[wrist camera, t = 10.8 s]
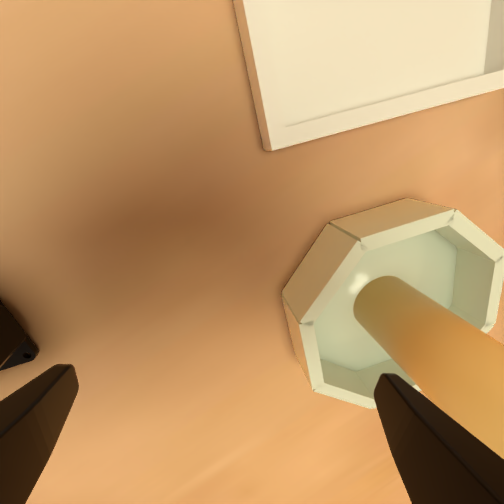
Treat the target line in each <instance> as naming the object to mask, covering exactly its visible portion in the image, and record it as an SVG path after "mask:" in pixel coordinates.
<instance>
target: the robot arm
mask: <svg viewBox="0 0 504 504" xmlns="http://www.w3.org/2000/svg"><path fill="white" fill-rule="evenodd" d="M28 353H30V354H28ZM38 353H39V351H38V349H37V347H36V346H35V345H34V344H33V342H32V341H31V340H30V338H29V337H28V336H27V334H26V333H25V332H24V330H23V329H22V328H21V327H20V325H19V324H18V323H17V321H16V320H15V319H14V317H13V316H12V315H11V313H10V312H9V311H8V310H7V308H6V307H5V306H4V304H3V303H2V302H1V300H0V371H1V370H4V369H7V368H10V367H13V366H17V365H20V364H23V363H26V362H29V361H32V360H34V359H35V357H36V356H37V355H38ZM78 388H79V384H78V380H77V376H76V372H75V368H74V366H73V365H71V364H57V365H54V366H53V367H51V368H50V369H48V370H47V371H45V372H44V373H42V374H41V375H39V376H38V377H36V378H35V379H33V380H32V381H30V382H29V383H27V384H26V385H24V386H23V387H21V388H20V389H18V390H17V391H15V392H14V393H12V394H11V395H9V396H8V397H6V398H5V399H3V400H2V401H0V504H25V503H26V501H27V499H28V497H29V496H30V494H31V492H32V490H33V488H34V486H35V484H36V482H37V481H38V479H39V477H40V475H41V473H42V471H43V469H44V467H45V466H46V464H47V462H48V460H49V458H50V456H51V454H52V451H53V449H54V447H55V445H56V442H57V440H58V438H59V435H60V433H61V431H62V428H63V426H64V424H65V421H66V419H67V417H68V414H69V412H70V409H71V407H72V405H73V402H74V400H75V398H76V395H77V393H78ZM374 400H375V403H376V407H377V410H378V413H379V416H380V419H381V422H382V425H383V429H384V432H385V435H386V438H387V441H388V444H389V447H390V450H391V453H392V456H393V458H394V461H395V464H396V466H397V468H398V471H399V473H400V476H401V478H402V480H403V483H404V485H405V488H406V490H407V493H408V495H409V497H410V500H411V502H412V504H504V459H503V458H501V457H500V456H499V455H498V454H496V453H495V452H494V451H493V450H491V449H490V448H489V447H488V446H486V445H485V444H484V443H483V442H481V441H480V440H479V439H478V438H476V437H475V436H474V435H473V434H471V433H470V432H469V431H468V430H466V429H465V428H464V427H463V426H461V425H460V424H459V423H458V422H456V421H455V420H454V419H453V418H451V417H450V416H449V415H447V414H446V413H445V412H444V411H442V410H441V409H440V408H439V407H437V406H436V405H435V404H434V403H432V402H431V401H430V400H429V399H427V398H426V397H425V396H424V395H422V394H421V393H420V392H419V391H417V390H416V389H415V388H414V387H412V386H411V385H410V384H409V383H407V382H406V381H405V380H404V379H402V378H401V377H400V376H399V375H397V374H395V373H382V374H381V375H380V377H379V379H378V382H377V384H376V387H375V389H374Z"/></svg>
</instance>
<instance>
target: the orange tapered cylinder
mask: <svg viewBox="0 0 504 504" xmlns="http://www.w3.org/2000/svg"><path fill="white" fill-rule="evenodd" d="M353 313H354V317H355V319H356V320H357V321H358V322H359V324H360V325H361V326H362V327H363V328H364V329H365V330H366V331H367V332H368V333H369V334H370V335H371V336H372V337H373V339H374V340H375V341H376V342H377V343H378V344H379V345H380V346H381V347H382V348H383V349H384V350H385V351H386V352H387V354H388V355H389V356H390V357H391V358H392V359H393V360H394V361H395V362H396V363H397V364H398V365H399V366H400V367H401V369H402V370H403V371H404V372H405V373H406V374H407V375H408V376H409V377H410V378H411V379H412V380H413V381H414V382H415V383H416V385H417V386H418V387H419V388H420V389H421V390H422V391H423V392H424V393H425V394H426V395H427V396H428V397H429V398H430V400H431V401H432V402H433V403H434V404H435V405H436V406H437V407H439V408H440V409H441V410H442V411H444V412H445V413H446V414H447V415H449V416H450V417H451V418H453V419H454V420H455V421H456V422H458V423H459V424H460V425H461V426H463V427H464V428H465V429H466V430H468V431H469V432H470V433H471V434H473V435H474V436H475V437H476V438H478V439H479V440H480V441H481V442H483V443H484V444H485V445H486V446H488V447H489V448H490V449H491V450H493V451H494V452H495V453H496V454H498V455H499V456H500V457H501V458H503V459H504V345H503V344H501V343H500V342H498V341H497V340H495V339H494V338H492V337H490V336H489V335H487V334H486V333H484V332H483V331H481V330H479V329H478V328H476V327H475V326H473V325H472V324H470V323H469V322H467V321H465V320H464V319H462V318H461V317H459V316H458V315H456V314H454V313H453V312H451V311H450V310H448V309H447V308H445V307H444V306H442V305H440V304H439V303H437V302H436V301H434V300H433V299H431V298H429V297H428V296H426V295H425V294H423V293H422V292H420V291H418V290H417V289H415V288H414V287H412V286H411V285H409V284H408V283H406V282H404V281H403V280H401V279H400V278H398V277H395V276H382V277H379V278H376V279H374V280H372V281H371V282H369V283H368V284H367V285H365V286H364V287H363V288H362V290H361V291H360V292H359V293H358V295H357V297H356V299H355V302H354V306H353Z"/></svg>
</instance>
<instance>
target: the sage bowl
mask: <svg viewBox="0 0 504 504" xmlns="http://www.w3.org/2000/svg"><path fill="white" fill-rule="evenodd" d="M382 276H395V277H398V278H400V279H401V280H403V281H404V282H406V283H408V284H409V285H411V286H412V287H414V288H415V289H417V290H418V291H420V292H422V293H423V294H425V295H426V296H428V297H429V298H431V299H433V300H434V301H436V302H437V303H439V304H440V305H442V306H444V307H445V308H447V309H448V310H450V311H451V312H453V313H454V314H456V315H458V316H459V317H461V318H462V319H464V320H465V321H467V322H469V323H470V324H472V325H473V326H475V327H476V328H478V329H479V330H481V331H483V332H484V333H486V334H487V333H488V332H489V331H490V330H491V329H492V328H493V326H494V325H493V324H495V323H496V318H497V312H498V307H499V301H500V296H501V291H502V285H503V280H504V249H503V248H502V247H501V246H500V245H499V244H497V243H496V242H495V241H494V240H493V239H491V238H490V237H489V236H488V235H487V234H485V233H484V232H483V231H482V230H481V229H480V228H478V227H477V226H476V225H475V224H474V223H472V222H471V221H470V220H469V219H468V218H466V217H465V216H464V215H463V214H462V213H460V212H459V211H458V210H457V209H453V208H449V207H445V206H440V205H436V204H432V203H428V202H424V201H419V200H415V199H411V198H405V199H402V200H398V201H395V202H392V203H388V204H385V205H382V206H379V207H375V208H372V209H369V210H365V211H362V212H359V213H355V214H352V215H349V216H346V217H342V218H339V219H336V220H332V221H330V224H328V223H327V224H326V226H325V227H324V229H323V230H322V232H321V233H320V235H319V236H318V238H317V239H316V241H315V242H314V244H313V245H312V247H311V248H310V250H309V251H308V253H307V254H306V256H305V257H304V259H303V260H302V262H301V263H300V265H299V266H298V268H297V269H296V271H295V272H294V274H293V275H292V277H291V278H290V280H289V281H288V283H287V284H286V286H285V287H284V289H283V290H282V294H281V297H282V301H283V305H284V310H285V314H286V318H287V323H288V327H289V331H290V336H291V340H292V344H293V349H294V353H295V355H296V357H297V359H298V361H299V363H300V365H301V367H302V369H303V371H304V373H305V376H306V378H307V380H308V382H309V384H310V386H311V388H312V390H313V391H314V392H318V393H321V394H324V395H327V396H330V397H334V398H337V399H340V400H343V401H347V402H350V403H353V404H356V405H360V406H363V407H366V408H369V409H371V408H373V409H374V408H376V403H375V400H374V389H375V387H376V384H377V382H378V379H379V377H380V375H381V374H382V373H395V374H397V375H399V376H400V377H401V378H402V379H404V380H405V381H406V382H407V383H409V384H410V385H411V386H412V387H414V388H415V389H416V390H417V391H421V389H420V388H419V387H418V386H417V385H416V383H415V382H414V381H413V380H412V379H411V378H410V377H409V376H408V375H407V374H406V373H405V372H404V371H403V370H402V369H401V367H400V366H399V365H398V364H397V363H396V362H395V361H394V360H393V359H392V358H391V357H390V356H389V355H388V354H387V352H386V351H385V350H384V349H383V348H382V347H381V346H380V345H379V344H378V343H377V342H376V341H375V340H374V339H373V337H372V336H371V335H370V334H369V333H368V332H367V331H366V330H365V329H364V328H363V327H362V326H361V325H360V324H359V322H358V321H357V320H356V319H355V317H354V313H353V306H354V302H355V299H356V297H357V295H358V293H359V292H360V291H361V290H362V288H363V287H364V286H365V285H367V284H368V283H369V282H371V281H372V280H374V279H376V278H379V277H382Z"/></svg>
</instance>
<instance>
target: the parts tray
mask: <svg viewBox="0 0 504 504" xmlns="http://www.w3.org/2000/svg"><path fill="white" fill-rule="evenodd" d="M233 4H234V9H235V14H236V19H237V23H238V28H239V33H240V38H241V43H242V48H243V52H244V57H245V62H246V67H247V72H248V77H249V81H250V86H251V91H252V96H253V101H254V106H255V110H256V115H257V120H258V125H259V130H260V135H261V139H262V144H263V149H264V150H265V151H273V150H277V149H281V148H284V147H288V146H292V145H295V144H299V143H303V142H306V141H310V140H314V139H317V138H321V137H325V136H328V135H332V134H336V133H339V132H343V131H347V130H350V129H354V128H358V127H361V126H365V125H369V124H372V123H376V122H380V121H383V120H387V119H391V118H394V117H398V116H402V115H406V114H409V113H413V112H417V111H420V110H424V109H428V108H431V107H435V106H439V105H442V104H446V103H450V102H453V101H457V100H461V99H464V98H468V97H472V96H475V95H479V94H483V93H486V92H490V91H494V90H497V89H501V88H504V0H233Z"/></svg>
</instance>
